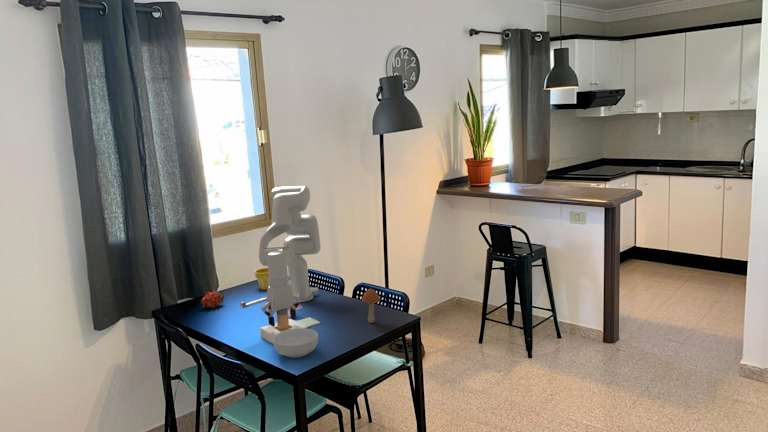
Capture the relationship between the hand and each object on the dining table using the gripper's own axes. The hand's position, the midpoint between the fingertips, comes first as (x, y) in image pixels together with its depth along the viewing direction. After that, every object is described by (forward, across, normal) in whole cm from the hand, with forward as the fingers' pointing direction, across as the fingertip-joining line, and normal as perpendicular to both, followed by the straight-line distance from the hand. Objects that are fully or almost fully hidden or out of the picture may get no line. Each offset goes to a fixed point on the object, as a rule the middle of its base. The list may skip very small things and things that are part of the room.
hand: (282, 322), depth 242 cm
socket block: (+6, 0, -3) cm, 7 cm away
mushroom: (+6, -35, +14) cm, 38 cm away
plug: (+6, 0, 0) cm, 6 cm away
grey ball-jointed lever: (-7, +6, -10) cm, 14 cm away
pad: (+6, -14, -6) cm, 17 cm away
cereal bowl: (+7, +5, +19) cm, 21 cm away
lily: (+6, -14, -20) cm, 26 cm away
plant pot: (+6, -27, -68) cm, 74 cm away
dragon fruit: (+6, +6, -60) cm, 61 cm away
